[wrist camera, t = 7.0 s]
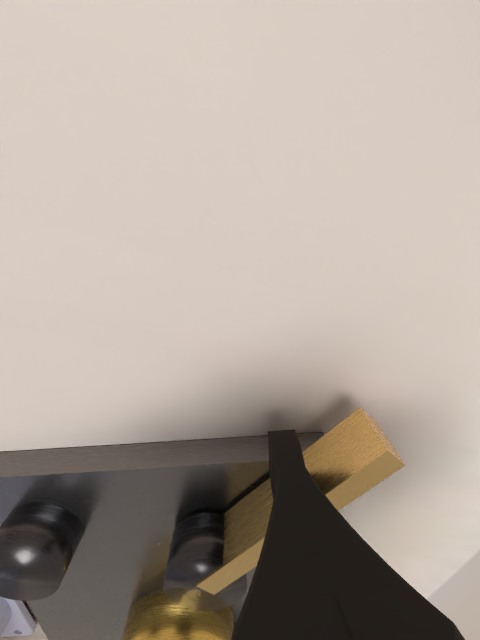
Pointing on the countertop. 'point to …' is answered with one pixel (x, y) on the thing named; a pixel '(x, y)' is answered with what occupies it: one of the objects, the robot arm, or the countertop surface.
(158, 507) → the plate
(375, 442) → the wooden stick
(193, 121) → the countertop surface
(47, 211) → the countertop surface
